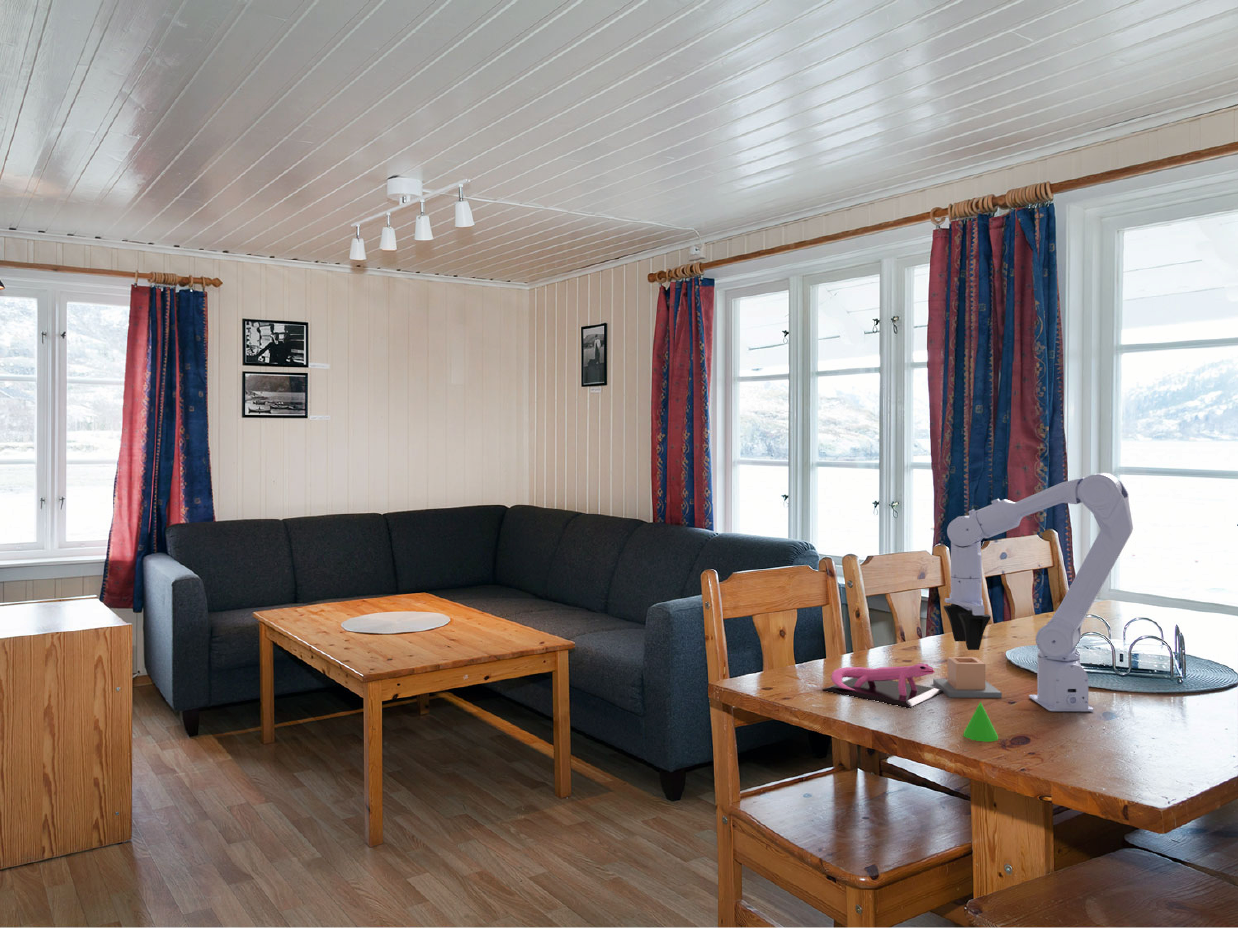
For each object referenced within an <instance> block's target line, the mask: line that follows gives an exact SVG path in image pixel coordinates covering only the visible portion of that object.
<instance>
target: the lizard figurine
mask: <svg viewBox="0 0 1238 928" xmlns="http://www.w3.org/2000/svg"><path fill="white" fill-rule="evenodd" d="M935 672H936V671H935V670H934V668H933V667H932V666H930V665H929V664H928V663H920V662H919V663H917V664H914V665H907V666H905V665H904V666H902V665H901V666H885V667H884V666H883V667H877V668H872V667H871V668H870V667H863V666H861V667H860V666H859V667H858V666H850V667H847V666H846V667H839V668H836V669H834V671H832V672H831V676H830V677H831V678H830V680H831V681H832V683H833V685H831V686H828V687H826V688H823V689H822V692H825V691H828V692H827V693H830V692H833V693H832V694H835V693H837V694H836V695H840V694H841V695H840V696H845V695H849V696H848V697H850V696H854V697H853V698H855V697H858V698H857V699H859V698H863V699H862V700H864V699H868V700H867V701H869V700H875V701H879V702H884V703H887V704H886V705H889V704H891V705H890V706H894V705H898V706H901V707H900V708H903V707H906V708H905V709H908V708H910V709H912V707H913V708H914V706H915V707H916V705H917V706H918V705H920V704H923V703H926V702H928V701H929V700H932V699H934V698H936V697H937V695H938V696H940V695H941V694H944V693H943V691H942V690H940V689H939V688H937V687H936V688H935V687H931V686H927V685H921V684H916V681H915V680H914V677H915V678H919V677H924V676H926V675H931V674H934V673H935ZM843 678H848V679H847V680H844V681H843ZM849 678H850V679H849ZM906 681H908V682H906ZM879 702H878V703H879ZM884 703H883V704H884ZM898 706H897V707H898Z"/></svg>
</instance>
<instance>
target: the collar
mask: <svg viewBox="0 0 1238 928" xmlns="http://www.w3.org/2000/svg"><path fill="white" fill-rule="evenodd" d="M946 660H947V661H946V662H947V663H946V664H947V669H946V670H947V676H946V677H947V678H946V679H947V682H948V683H949V684H951V685H952V686H953V687H954V688H955V689H985V681H986V663H985V662H983V661H982V660H981V659H979V658H978V657H976V656H963V657H962V656H947V659H946Z"/></svg>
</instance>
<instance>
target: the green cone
mask: <svg viewBox="0 0 1238 928" xmlns="http://www.w3.org/2000/svg"><path fill="white" fill-rule="evenodd" d="M963 734H964V735H962V736H963V738H967V739H968V738H970V739H969V740H971V739H972V740H971V741H974V740H976V741H977V742H985V743H990V742H995V741H998V740H999V735H998V734H997V731H996V729H995V727H994V725H993V724H992V721H991V719H990V717H989V716H988V714H987V711H986V709H985V708H984V706H983V703H982V702H981V701H980V702H979V704H978V705H977V707H976V710H975V711H974V712H973V714H972V716H971V718H970V720H969V722H968V723H967V725H966V727H965V729H964V732H963Z"/></svg>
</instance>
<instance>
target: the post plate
mask: <svg viewBox="0 0 1238 928" xmlns="http://www.w3.org/2000/svg"><path fill="white" fill-rule="evenodd" d="M932 681H933V685H934V686H935V687H936V689H939V690H942V691H943V693H942V694H945V696H947V697H948V698H949V699H950V698H953V699H954V698H958V699H959V698H964V699H965V698H976V699H977V698H978V699H979V698H984V699H985V698H987V699H989V698H990V699H993V698H999V699H1000V698H1001V699H1002V697H1003V696H1002V691H1000V690H999V689H997V688H996V687H995V686H994V685H992V684H991V683H990V682H988V681H986V680H985V689H955V688H954V687H953V686H952V685H951V684H949V683H948V682H947V678H933V679H932Z"/></svg>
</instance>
